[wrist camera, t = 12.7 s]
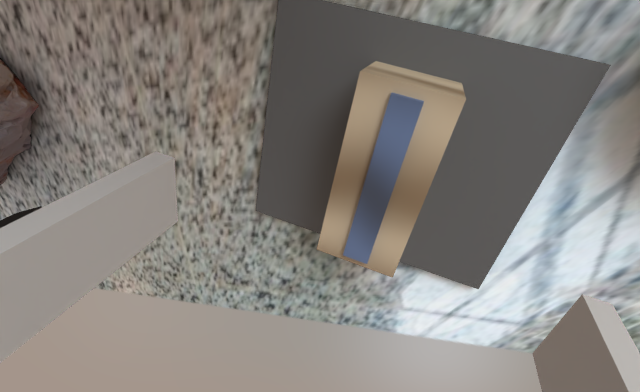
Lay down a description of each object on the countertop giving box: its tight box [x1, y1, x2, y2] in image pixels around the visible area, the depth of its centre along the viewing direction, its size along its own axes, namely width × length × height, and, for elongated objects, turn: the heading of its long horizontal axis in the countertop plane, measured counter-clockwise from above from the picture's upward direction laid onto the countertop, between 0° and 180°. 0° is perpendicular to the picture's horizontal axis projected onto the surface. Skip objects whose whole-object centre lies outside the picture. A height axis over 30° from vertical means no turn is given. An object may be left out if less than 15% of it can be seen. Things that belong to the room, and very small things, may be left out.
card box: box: [317, 61, 466, 277], centre depth 18 cm, size 10×4×4 cm, turn 169°
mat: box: [256, 0, 610, 289], centre depth 20 cm, size 16×14×1 cm
